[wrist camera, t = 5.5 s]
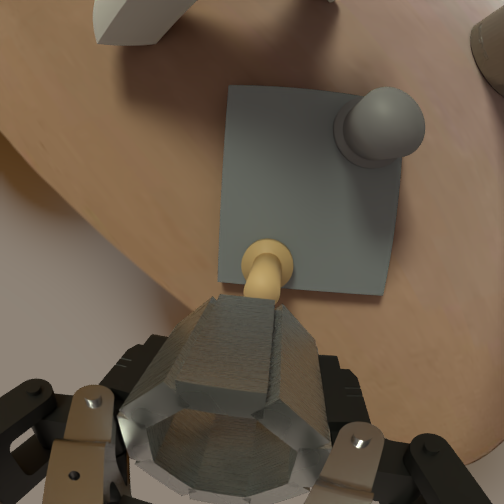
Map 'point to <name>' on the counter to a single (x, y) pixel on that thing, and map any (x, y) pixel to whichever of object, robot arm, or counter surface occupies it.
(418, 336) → the counter surface
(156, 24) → the faucet
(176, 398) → the tube
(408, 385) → the counter surface
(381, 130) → the board
